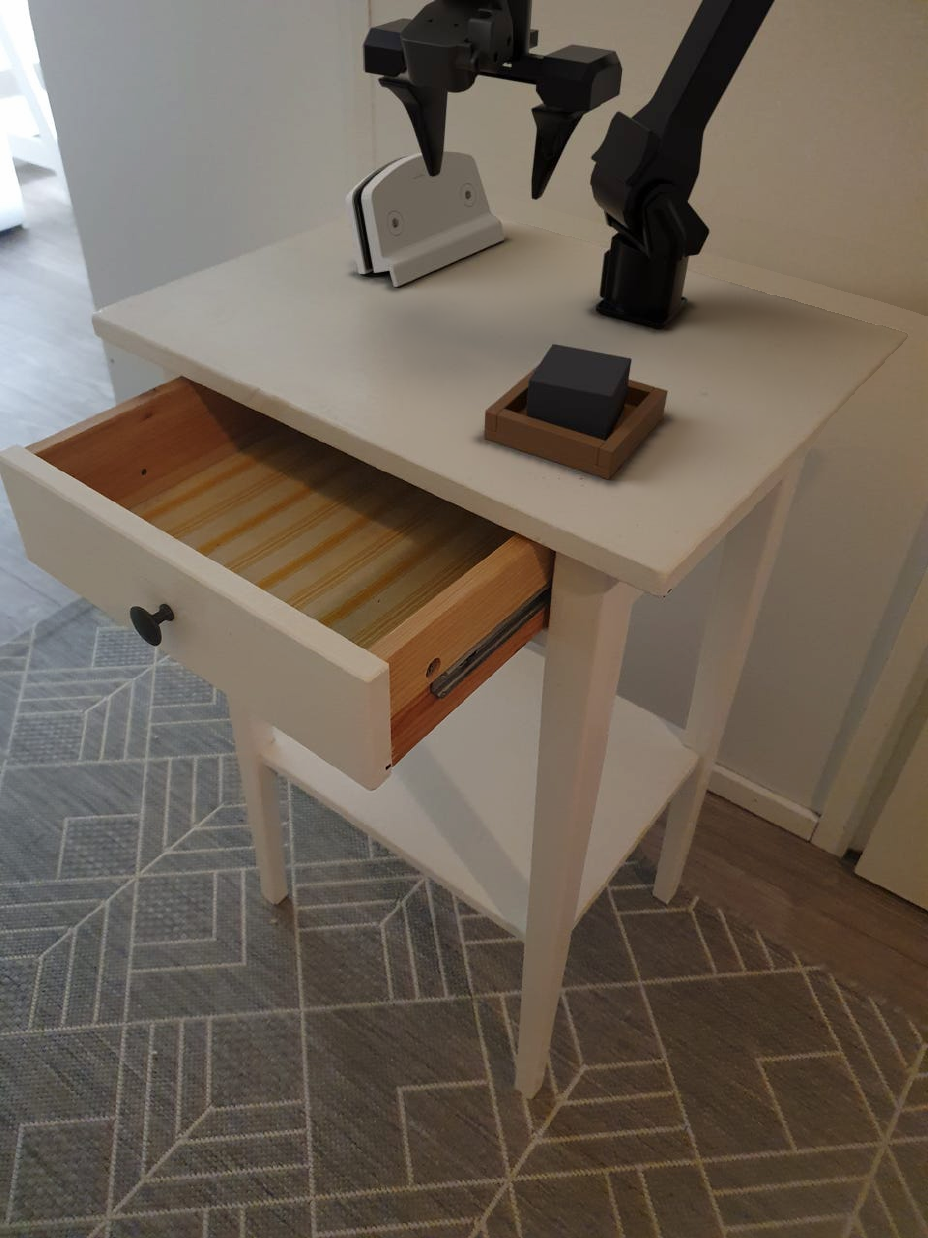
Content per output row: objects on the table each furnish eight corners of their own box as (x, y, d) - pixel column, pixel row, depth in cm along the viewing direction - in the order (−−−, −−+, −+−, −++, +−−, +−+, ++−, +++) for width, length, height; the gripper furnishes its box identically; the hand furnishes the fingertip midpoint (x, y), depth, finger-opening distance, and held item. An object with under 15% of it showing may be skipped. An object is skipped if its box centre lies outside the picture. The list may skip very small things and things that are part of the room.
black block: (624, 407, 73) (632, 358, 70) (605, 446, 69) (612, 396, 66) (548, 391, 74) (552, 343, 72) (524, 429, 70) (528, 379, 68)
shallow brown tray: (663, 417, 74) (668, 390, 72) (608, 479, 67) (612, 451, 66) (545, 382, 77) (548, 355, 76) (483, 438, 71) (484, 410, 69)
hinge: (395, 287, 90) (364, 172, 85) (361, 290, 93) (329, 179, 88) (507, 238, 99) (485, 131, 95) (473, 242, 102) (450, 139, 98)
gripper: (308, -56, 63) (325, 192, 74) (564, -23, 57) (543, 244, 67) (402, -73, 71) (406, 154, 81) (639, -46, 64) (610, 198, 74)
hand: (484, 186), depth 76 cm, fingers open, 9 cm apart
